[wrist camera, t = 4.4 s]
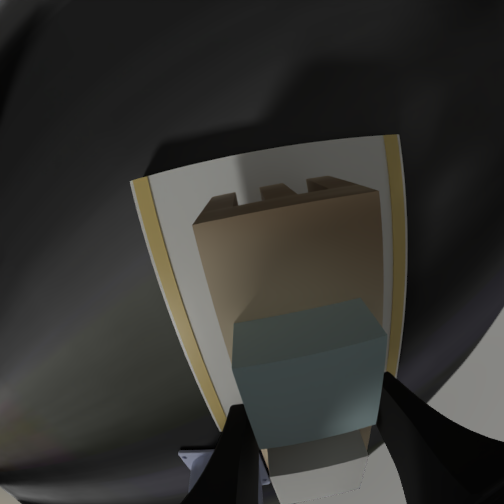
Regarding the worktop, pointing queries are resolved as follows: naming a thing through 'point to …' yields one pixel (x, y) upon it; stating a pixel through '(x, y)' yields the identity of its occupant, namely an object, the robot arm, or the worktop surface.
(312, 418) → the block
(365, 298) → the tan notched block
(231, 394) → the dock
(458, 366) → the worktop surface
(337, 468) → the crate
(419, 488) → the robot arm
